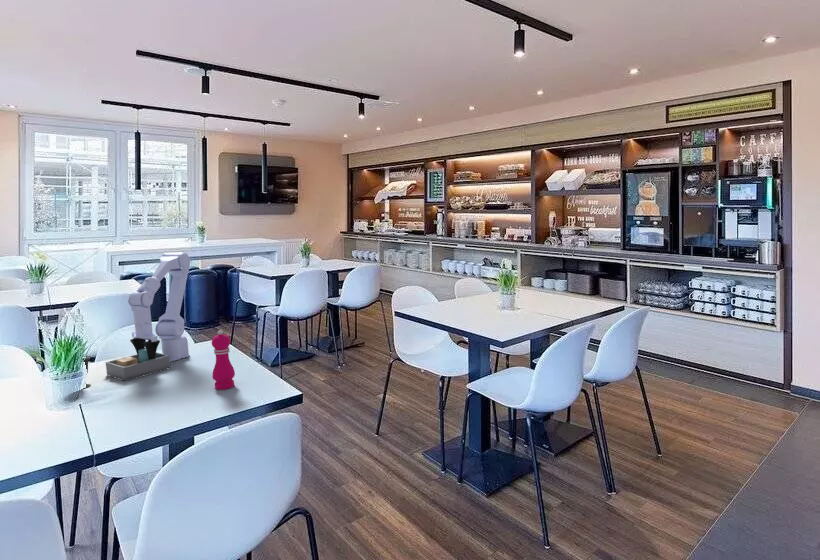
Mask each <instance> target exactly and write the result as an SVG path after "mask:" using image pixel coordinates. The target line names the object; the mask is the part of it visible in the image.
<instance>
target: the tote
mask: <svg viewBox="0 0 820 560" xmlns="http://www.w3.org/2000/svg"><path fill="white" fill-rule="evenodd" d="M127 357H133V358H137V361H138V364H134V365H130V366H127V367H123V366H119V365H117V360H119V359H123V358H127ZM105 368H106V375H107V376H108V375H110V376H109V377H111V376H112V378H114V377H116V378H115V379H117V378H119V379H118V380H120V379H122V380H121V381H123V380H124V382H127V381H130V379H131V380H133V378H134V379H137V378H136V377H138V378H141V377H144V376H143V375H145V376H147V374H148V375H151V374H150V373H152V374H155V373H158V372H161V371H160V370H162V371H165V370H168V369H167V368H169V369H171V362H170V360H169V355H165V354H162V353H160V352H157V351H156V356H155V359H153V360H149V361H145V362H142V363H140V362H139V357H138V355H137V353H136V354H132V355H129V356H124V357H121V358H116V359H113V360H109V361H106V362H105ZM164 369H165V370H164ZM157 371H158V372H157ZM154 372H155V373H154ZM140 376H141V377H140ZM126 380H127V381H126Z"/></svg>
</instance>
